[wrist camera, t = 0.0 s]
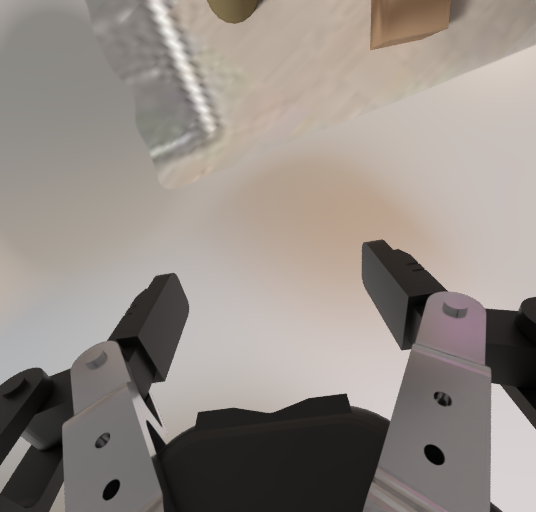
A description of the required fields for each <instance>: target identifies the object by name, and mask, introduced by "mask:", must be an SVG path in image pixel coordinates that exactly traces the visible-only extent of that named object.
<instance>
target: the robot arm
mask: <svg viewBox="0 0 536 512" xmlns="http://www.w3.org/2000/svg"><path fill="white" fill-rule="evenodd" d="M362 280H363V284H364V287H365V289H366V290H367V292H368V294H369V295H370V297H371V299H372V301H373V302H374V304H375V306H376V308H377V309H378V311H379V313H380V314H381V316H382V318H383V320H384V321H385V323H386V325H387V326H388V328H389V330H390V331H391V333H392V335H393V337H394V338H395V340H396V342H397V343H398V345H399V347H400V349H401V350H408V349H411V352H410V356H409V359H408V363H407V366H406V369H405V373H404V376H403V380H402V384H401V387H400V391H399V394H398V397H397V401H396V404H395V408H394V411H393V415H392V419H391V421H389V420H388V419H386V418H384V417H382V416H380V415H379V414H377V413H374V412H371V411H369V410H366V409H362V408H359V407H354V406H350V404H349V400H348V397H347V394H339V395H331V396H323V397H315V398H308V399H306V400H303V401H301V402H299V403H296V404H294V405H291V406H289V407H286V408H284V409H282V410H279V411H276V412H274V413H263V412H258V411H250V410H244V409H238V408H228V409H220V410H212V411H204V412H198V415H197V420H196V425H195V426H194V427H191V428H190V429H188V430H186V431H184V432H182V433H181V434H179V435H178V436H177V437H175V438H174V439H173V440H171V438H170V436H169V434H168V432H167V430H166V427H165V425H164V422H163V420H162V418H161V415H160V413H159V410H158V408H157V406H156V403H155V401H154V399H153V396H152V394H151V392H150V391H149V389H150V387H151V384H152V383H156V382H163V381H165V379H166V377H167V374H168V371H169V368H170V365H171V363H172V360H173V357H174V354H175V351H176V348H177V345H178V343H179V340H180V337H181V334H182V331H183V328H184V326H185V323H186V320H187V317H188V313H189V304H188V300H187V298H186V295H185V293H184V291H183V288H182V286H181V284H180V281H179V279H178V277H177V275H176V274H175V273H170V274H164V275H158V276H155V278H154V279H153V281H152V282H151V284H150V285H149V287H148V289H145V290H144V291H143V292H141V293H140V294H139V295H138V296H137V297H136V298H135V299H134V301H133V302H132V304H131V306H130V308H129V309H128V310H127V312H126V313H125V316H123V318H122V319H121V321H120V322H119V324H118V325H117V327H116V328H115V330H114V331H113V333H112V334H111V336H110V337H109V339H108V340H107V341H105V342H101V343H99V344H96V345H94V346H93V347H91V348H89V349H88V350H86V351H85V352H84V353H82V354H81V355H80V356H79V357H78V358H77V360H75V362H74V363H73V365H72V367H71V369H68V370H66V371H63V372H60V373H58V374H55V375H53V376H50V377H49V376H48V375H47V374H46V373H45V372H44V371H43V370H42V369H41V368H31V369H27V370H25V371H22V372H20V373H18V374H16V375H14V376H13V377H11V378H10V379H8V380H7V381H6V382H4V383H3V384H2V385H0V465H1V464H2V462H3V461H4V459H5V458H6V456H7V455H8V453H9V452H10V450H11V449H12V447H13V446H14V445H15V443H16V442H17V440H18V439H19V437H20V436H21V437H23V438H24V439H25V440H26V441H28V442H29V443H30V444H32V445H31V446H30V448H29V449H28V451H27V453H26V454H25V456H24V457H23V459H22V460H21V462H20V464H19V465H18V467H17V468H16V470H15V471H14V473H13V474H12V476H11V478H10V479H9V481H8V482H7V484H6V486H5V487H4V489H3V490H2V492H1V493H0V512H49V511H50V508H51V506H52V504H53V502H54V500H55V498H56V496H57V494H58V492H59V490H60V488H61V486H62V484H63V482H64V491H65V512H502V511H501V510H500V509H499V508H497V507H496V506H495V505H494V504H492V503H491V502H490V463H491V462H490V460H491V458H490V456H491V383H495V384H500V385H501V386H502V387H503V389H504V390H505V391H506V392H507V394H508V395H509V396H510V397H511V398H512V400H513V401H514V402H515V404H516V405H517V406H518V407H519V409H520V410H521V411H522V412H523V414H524V415H525V416H526V417H527V419H528V420H529V421H530V423H531V424H532V425H533V426H534V428H535V429H536V297H533V298H528V299H526V300H524V301H523V302H522V303H521V306H520V308H519V311H509V310H495V309H485V308H484V307H483V306H482V305H481V304H480V303H479V302H478V301H476V300H475V299H473V298H471V297H469V296H466V295H464V294H460V293H456V292H448V291H447V290H446V289H445V288H444V287H443V286H442V285H441V284H440V283H439V282H438V281H437V280H436V279H435V278H434V277H433V276H432V275H431V274H430V273H429V272H427V270H424V268H423V267H422V266H421V265H420V264H418V262H417V261H416V260H415V259H414V258H413V257H412V256H411V255H410V254H408V253H405V252H403V251H401V250H399V249H397V250H393V249H392V248H391V247H390V246H389V245H388V244H387V243H386V242H385V241H384V240H376V241H370V242H364V243H363V245H362Z"/></svg>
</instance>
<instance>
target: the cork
mask: <svg viewBox="0 0 536 512" xmlns="http://www.w3.org/2000/svg"><path fill="white" fill-rule="evenodd" d="M207 1H208V3H209V5H210V7H211V9H212V11H213V12H214V13H215V14H216V15H217V16H218V17H219V18H220V19H222V20H223V21H225V22H228V23H234V24H235V23H239V22H243V21H244V20H246V19H247V18H248V17H250V16H251V14H252V13H253V11H254V10H255V8H256V5H257V2H258V0H207Z"/></svg>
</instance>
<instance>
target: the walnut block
mask: <svg viewBox="0 0 536 512" xmlns="http://www.w3.org/2000/svg"><path fill="white" fill-rule="evenodd" d="M451 1H452V0H371V44H370V50H373V49H378V48H383V47H388V46H392V45H397V44H402V43H407V42H412V41H416V40H421V39H424V38H426V37H428V36H431V35H433V34H435V33H437V32H440V31H442V30H444V29H447V28H448V23H449V16H450V8H451Z"/></svg>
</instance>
